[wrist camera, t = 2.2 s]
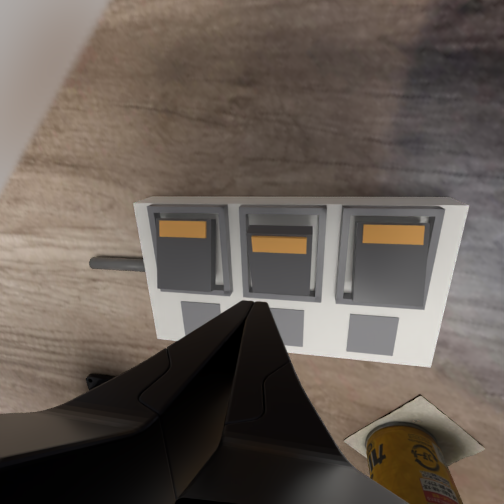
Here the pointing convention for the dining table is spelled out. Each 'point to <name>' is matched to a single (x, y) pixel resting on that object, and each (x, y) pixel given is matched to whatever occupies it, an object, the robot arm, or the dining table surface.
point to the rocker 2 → (390, 263)
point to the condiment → (415, 452)
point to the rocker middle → (280, 259)
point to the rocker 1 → (186, 254)
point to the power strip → (322, 272)
